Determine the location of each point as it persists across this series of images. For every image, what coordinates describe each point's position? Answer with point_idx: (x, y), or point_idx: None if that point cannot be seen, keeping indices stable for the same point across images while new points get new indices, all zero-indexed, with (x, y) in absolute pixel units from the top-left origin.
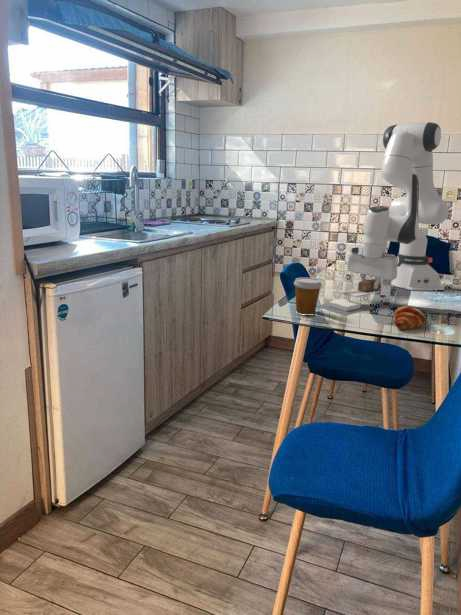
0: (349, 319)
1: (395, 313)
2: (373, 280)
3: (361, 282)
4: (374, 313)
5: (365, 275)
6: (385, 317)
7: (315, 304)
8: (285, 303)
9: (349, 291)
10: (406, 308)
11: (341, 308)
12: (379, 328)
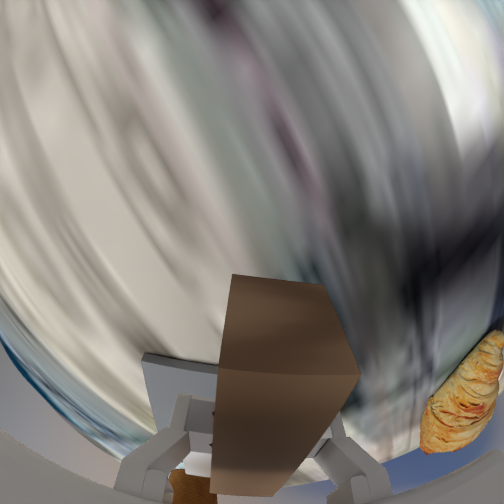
0: (302, 465)
1: (427, 446)
2: (269, 438)
3: (235, 494)
4: (350, 404)
5: (166, 490)
6: (394, 405)
7: (216, 501)
8: (98, 443)
9: (201, 462)
10: (458, 447)
11: None
12: (385, 453)
